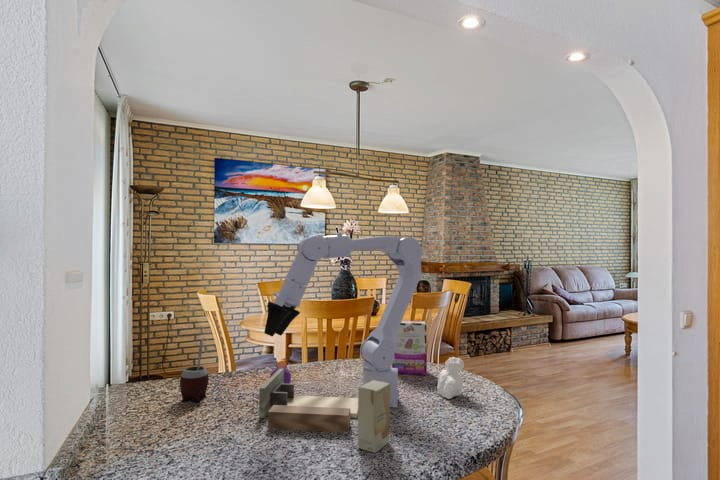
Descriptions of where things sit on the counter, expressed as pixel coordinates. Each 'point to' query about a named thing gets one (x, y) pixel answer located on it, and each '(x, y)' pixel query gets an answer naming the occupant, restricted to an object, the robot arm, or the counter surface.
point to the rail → (309, 418)
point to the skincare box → (373, 415)
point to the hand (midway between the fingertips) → (273, 334)
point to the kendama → (286, 373)
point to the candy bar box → (411, 348)
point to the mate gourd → (194, 381)
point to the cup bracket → (297, 397)
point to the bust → (450, 378)
